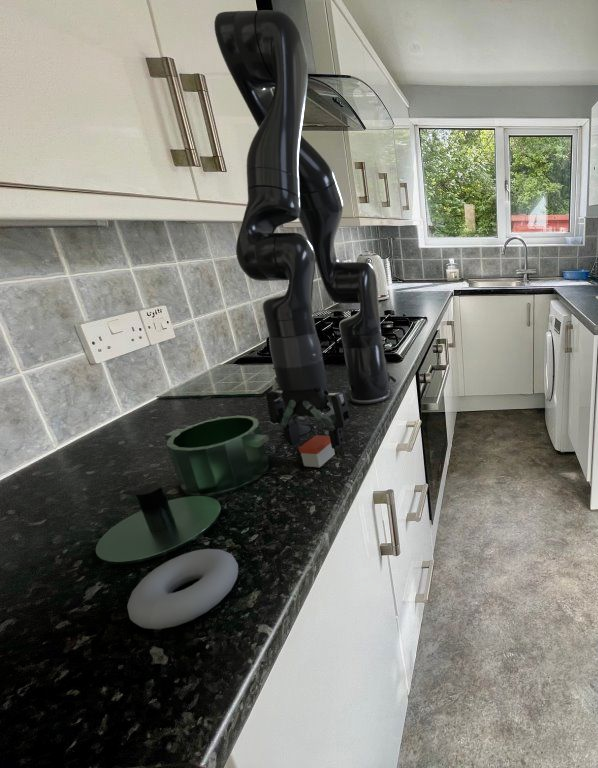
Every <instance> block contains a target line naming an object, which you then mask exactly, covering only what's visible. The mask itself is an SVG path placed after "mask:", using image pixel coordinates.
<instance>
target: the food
mask: <svg viewBox="0 0 598 768" xmlns="http://www.w3.org/2000/svg"><path fill="white" fill-rule="evenodd" d="M298 451H299V453H300V455H301V459H302V460H301V461H302V464H303V467H307V468H309V467H310V468H321V467H322V466H323V465H324V464H325V463H327V462H328V461H330V460H331V459H332V458H333V457H334V456H335V455H336V453H335V449H333V448H332V446H331V441H330V436H329V435H321V434H316V435H315V436H313V437H311V438H310V439H309V440H307V441H306V442H305V443H303V444H302V445H301V446H299V447H298Z"/></svg>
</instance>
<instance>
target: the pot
mask: <svg viewBox="0 0 598 768" xmlns="http://www.w3.org/2000/svg"><path fill="white" fill-rule="evenodd" d="M164 437H165V439H166V449H167V451H168V454H169V456H170V460H171V462H172V466H173V468H174V471H175V474H176V476H177V479H178V482H179V485H180V488H181V489H182V491H183V492H184V493H185V495H188V496H206V497H215V496H220V495H224V494H225V495H226V494H229V493H232V492H235V491H237V490H240V489H242V488H244V487H247V486H249V485H251V484H252V483H255V482H256V481H258V480H259V479H261V478H262V477H263V476H264V475H265V474H266V473H267V471H268V470H269V468H270V461H269V457H268V454H267V450H266V446H265V444H266V443H268V442H269V441H270V438H269V435H268V434H267V435H266V434H262V431H261V426H260V423H259V419H258V418H256V417H254V416H249V415H231V416H230V415H229V416H221V417H217V418H212V419H208V420H204V421H200V422H198V423H195V424H191V425H189V426H187V427H184V428H176V429H174V430H172V431H169V432H168V433H166V434H164Z"/></svg>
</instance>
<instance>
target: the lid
mask: <svg viewBox="0 0 598 768" xmlns="http://www.w3.org/2000/svg"><path fill="white" fill-rule="evenodd" d="M134 495H135V498H136V501H137V503H138V505H139V507H140V510H139V511H137V512H135V513H132V514H131V515H129V516H127V517H126V518H123V519H122V520H120V521H119V522H117V523H116V524H114V525H113V526H112V527H110V528H109V530H108V531H106V532H105V533H104V534H103V535H102V536H101V537H100V539H99V540H98V542H97V543H96V546H95V555H96V556H97V558H98V559H99V561H101V562H103V563H105V564H110V565H130V564H136V563H140V562H144V561H149V560H153V559H156V558H159V557H161V556H165V555H166V554H169V553H172V552H174V551H176V550H178V549H181V548H182V547H184V546H186V545H188V544H190V543H192V542H193V541H195V540H197V539H199V538H200V537H201V536H202V535H204V534H205V533H207V532H208V531H209V530H210V529H211V528H212V527H213V526H214V525H215V524H216V523H217V521H218V520H219V518H220V517H221V513H222V505H221V504H220V502H219V501H218V500H217V499H215V498H213V497H212V496H207V497H206V496H191V495H189V496H184V497H179V498H173V499H169V500H168V498H167V494H166V493H165V489H164V487H163V484H162V483H160V482H152V483H148V484H145V485H142V486H141V487H139V488H137V489H136V490H135V491H134Z"/></svg>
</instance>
